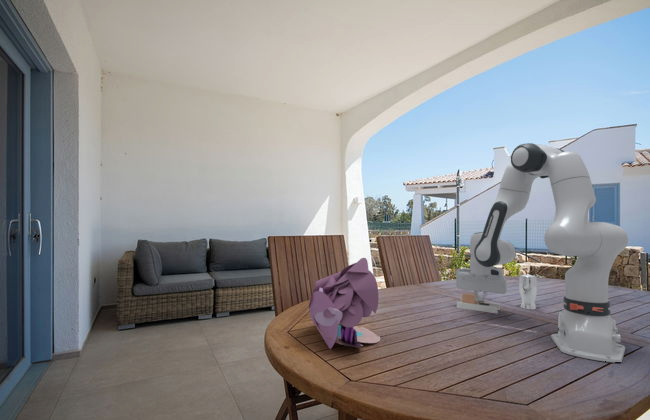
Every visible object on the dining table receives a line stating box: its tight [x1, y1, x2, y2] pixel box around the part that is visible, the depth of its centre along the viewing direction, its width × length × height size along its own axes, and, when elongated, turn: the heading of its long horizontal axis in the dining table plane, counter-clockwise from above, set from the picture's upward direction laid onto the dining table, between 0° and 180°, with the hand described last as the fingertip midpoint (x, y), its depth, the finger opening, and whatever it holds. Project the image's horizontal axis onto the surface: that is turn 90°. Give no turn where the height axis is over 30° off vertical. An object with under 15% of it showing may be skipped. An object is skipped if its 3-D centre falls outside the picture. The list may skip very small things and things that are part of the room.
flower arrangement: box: [308, 257, 381, 350], centre depth 115 cm, size 35×24×28 cm
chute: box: [456, 298, 501, 314], centre depth 150 cm, size 8×16×4 cm, turn 57°
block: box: [461, 291, 477, 304], centre depth 152 cm, size 5×5×6 cm
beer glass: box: [518, 274, 538, 310], centre depth 152 cm, size 7×7×15 cm
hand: (480, 301), depth 149 cm, fingers closed
